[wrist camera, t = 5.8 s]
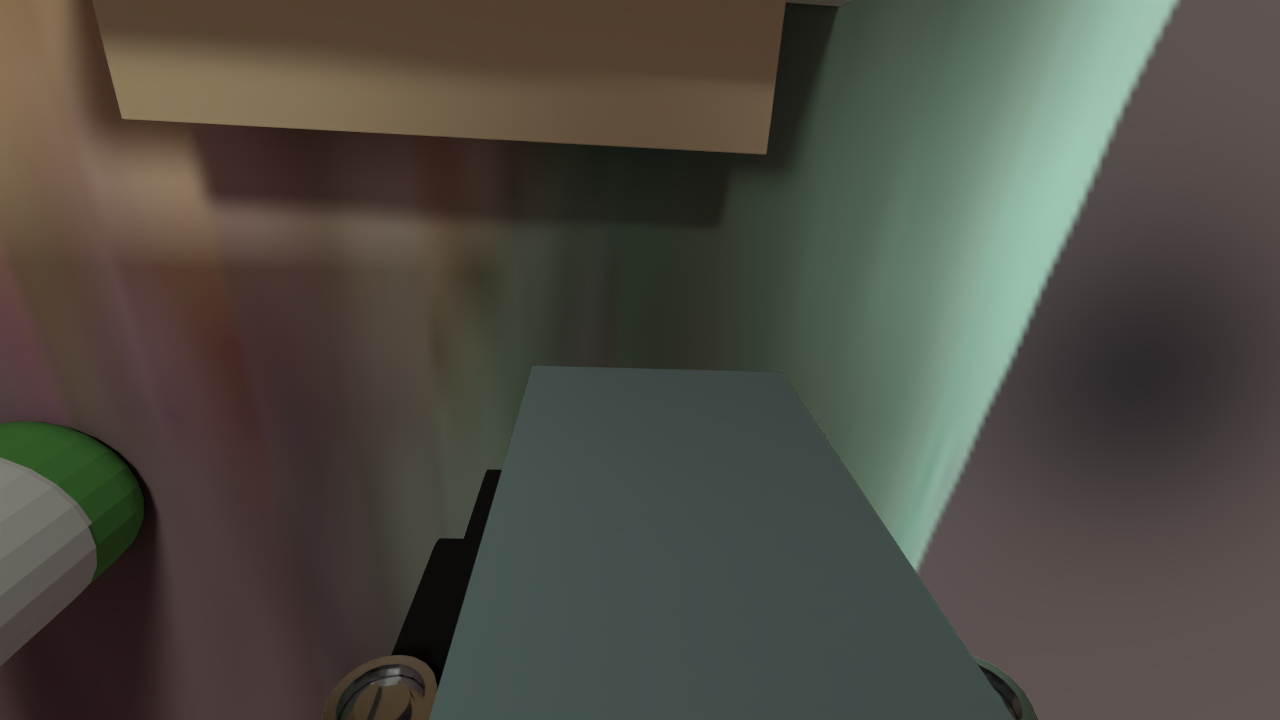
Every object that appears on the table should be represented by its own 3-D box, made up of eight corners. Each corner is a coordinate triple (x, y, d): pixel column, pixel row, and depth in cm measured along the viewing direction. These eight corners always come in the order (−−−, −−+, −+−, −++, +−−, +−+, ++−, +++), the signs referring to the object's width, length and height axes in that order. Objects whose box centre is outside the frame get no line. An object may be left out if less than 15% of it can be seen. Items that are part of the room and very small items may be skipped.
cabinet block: (532, 365, 12) (404, 804, 4) (782, 372, 12) (1062, 789, 5) (538, 636, 14) (466, 1186, 7) (740, 636, 15) (873, 1160, 7)
